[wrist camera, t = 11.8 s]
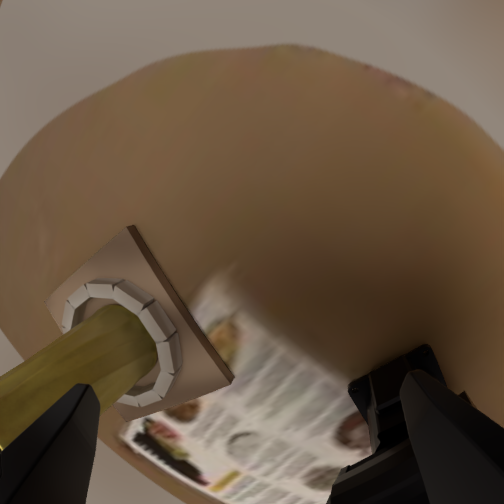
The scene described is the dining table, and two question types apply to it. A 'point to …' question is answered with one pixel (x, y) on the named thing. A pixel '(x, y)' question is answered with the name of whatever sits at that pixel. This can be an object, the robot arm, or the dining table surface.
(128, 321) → the vase
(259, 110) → the dining table surface
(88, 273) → the socket board
